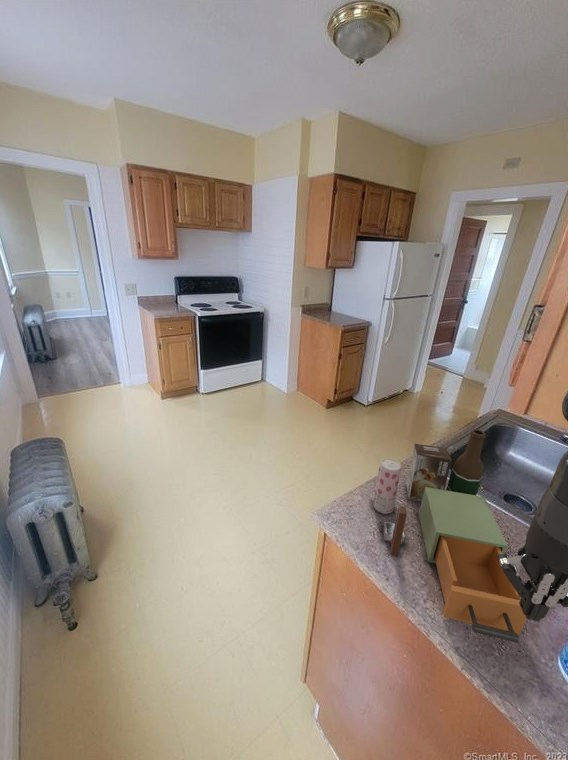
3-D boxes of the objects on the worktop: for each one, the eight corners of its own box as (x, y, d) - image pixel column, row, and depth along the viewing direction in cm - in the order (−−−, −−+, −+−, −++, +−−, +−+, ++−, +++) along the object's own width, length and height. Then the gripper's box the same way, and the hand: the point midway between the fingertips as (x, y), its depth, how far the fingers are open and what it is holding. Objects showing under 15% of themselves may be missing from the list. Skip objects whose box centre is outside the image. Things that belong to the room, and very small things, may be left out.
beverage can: (397, 510, 92) (406, 467, 86) (382, 517, 89) (390, 472, 84) (383, 497, 96) (391, 455, 91) (368, 503, 94) (375, 460, 88)
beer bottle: (457, 490, 100) (476, 422, 91) (479, 507, 93) (502, 436, 84) (438, 496, 97) (455, 427, 88) (459, 514, 91) (481, 442, 82)
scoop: (401, 532, 84) (409, 492, 80) (404, 556, 78) (413, 515, 73) (383, 528, 85) (390, 489, 81) (384, 552, 79) (392, 511, 74)
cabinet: (496, 576, 73) (508, 545, 70) (428, 562, 76) (436, 532, 73) (475, 524, 87) (484, 496, 84) (418, 514, 90) (425, 486, 87)
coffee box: (436, 491, 99) (447, 447, 93) (441, 506, 94) (453, 460, 88) (405, 486, 101) (414, 442, 95) (408, 500, 96) (417, 454, 90)
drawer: (530, 664, 57) (545, 636, 54) (449, 643, 60) (458, 615, 57) (492, 568, 74) (501, 543, 71) (430, 555, 77) (437, 531, 74)
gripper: (526, 539, 39) (489, 628, 46) (657, 563, 37) (598, 655, 43) (503, 497, 46) (473, 580, 53) (611, 515, 44) (566, 601, 50)
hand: (529, 614), depth 48 cm, fingers closed
